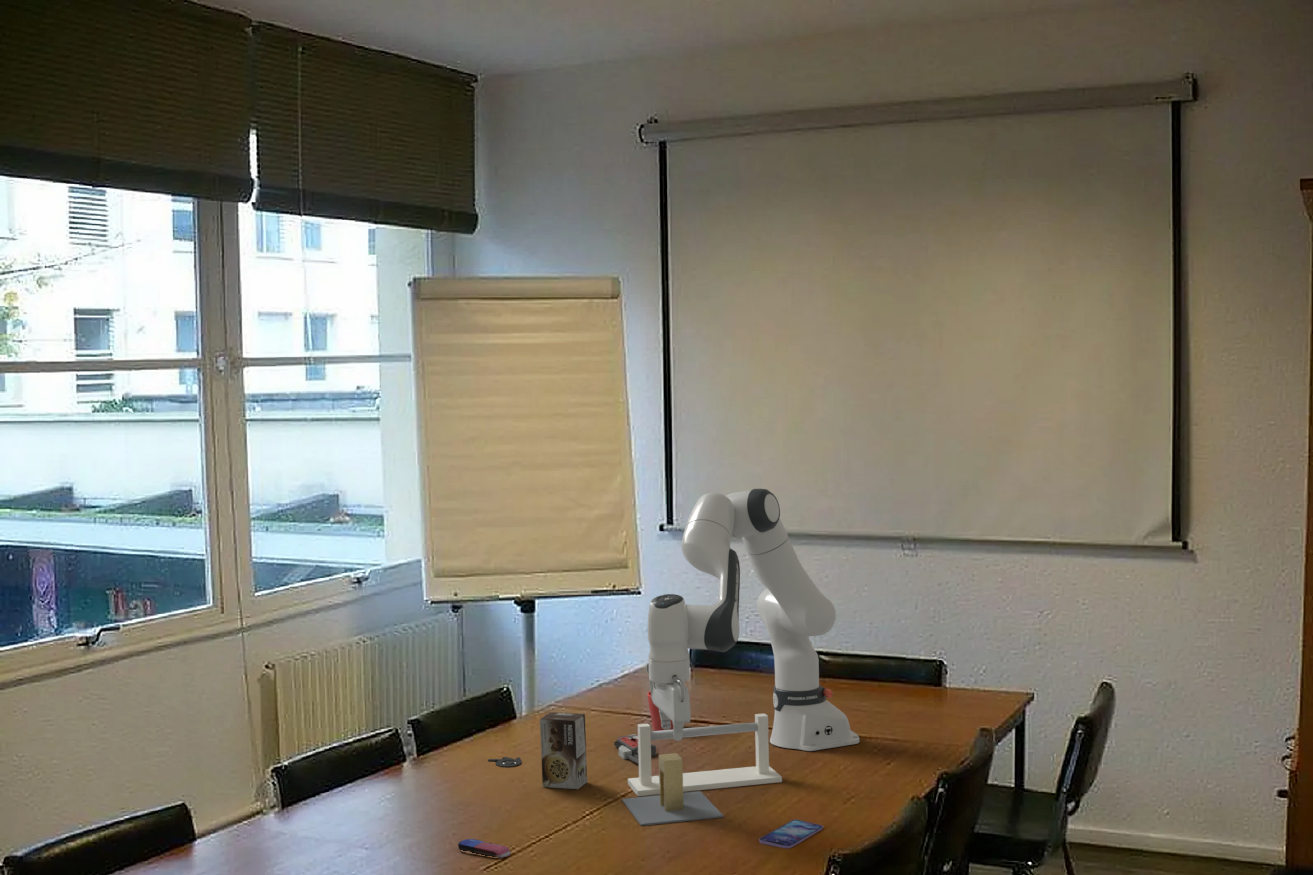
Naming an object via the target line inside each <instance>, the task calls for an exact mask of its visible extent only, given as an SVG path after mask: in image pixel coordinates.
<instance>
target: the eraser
mask: <svg viewBox="0 0 1313 875" xmlns="http://www.w3.org/2000/svg"><path fill="white" fill-rule="evenodd" d="M457 847H458V850H459V849H460V850H463V851H470V852H472V853H476V854H481V855H485V856H492V857H498V858H501V859H504V858H503V857H506V856H508V857H510V856H511V851H510V849H509V847H508V846H505V845H501V844H497V843H492V842H487V841H483V840H478V839H473V838H467V839H463V840H461V841H459V842H458V844H457ZM460 850H459V851H460ZM506 858H507V857H506Z"/></svg>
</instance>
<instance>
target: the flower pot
mask: <svg viewBox="0 0 1313 875" xmlns="http://www.w3.org/2000/svg"><path fill="white" fill-rule="evenodd" d="M647 700H648V702H647V703H648V707H649V713H650V719H651V722H652V728H653V731H662V730H664V729H663V728H662V727H661V718H660V714H659V708H658V707H657V706H656V705H655V704H653V701H652V698H651V691H650V690H649V691H648V692H647ZM670 721H671V720H670ZM666 730H673V722H672V721H671V728H670V729H666Z"/></svg>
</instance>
